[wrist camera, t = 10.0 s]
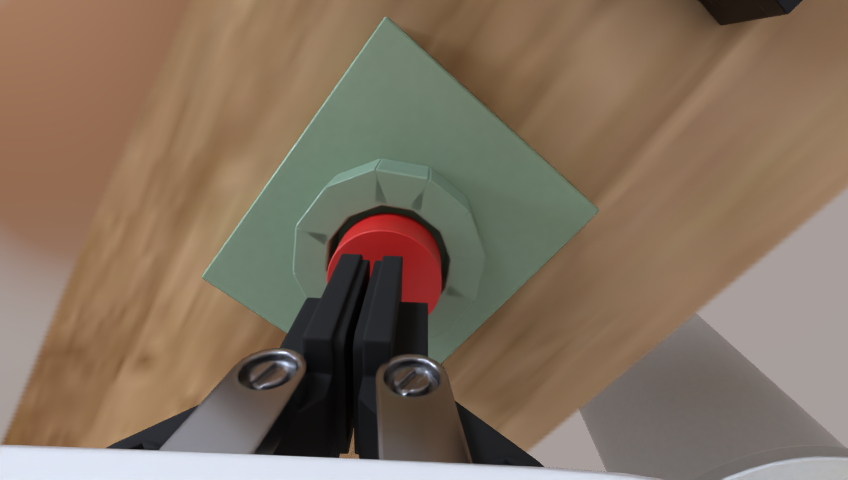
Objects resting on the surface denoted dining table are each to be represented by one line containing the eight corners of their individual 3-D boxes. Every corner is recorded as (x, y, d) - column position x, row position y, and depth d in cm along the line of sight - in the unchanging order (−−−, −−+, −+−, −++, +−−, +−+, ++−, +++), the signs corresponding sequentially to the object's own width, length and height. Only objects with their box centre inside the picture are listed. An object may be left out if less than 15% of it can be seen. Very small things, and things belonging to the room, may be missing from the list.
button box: (400, 381, 20) (394, 439, 17) (220, 260, 18) (174, 300, 15) (585, 198, 17) (621, 227, 14) (390, 21, 15) (378, 6, 11)
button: (397, 323, 16) (393, 351, 14) (317, 266, 15) (303, 290, 13) (462, 255, 15) (466, 278, 13) (379, 190, 14) (373, 206, 12)
